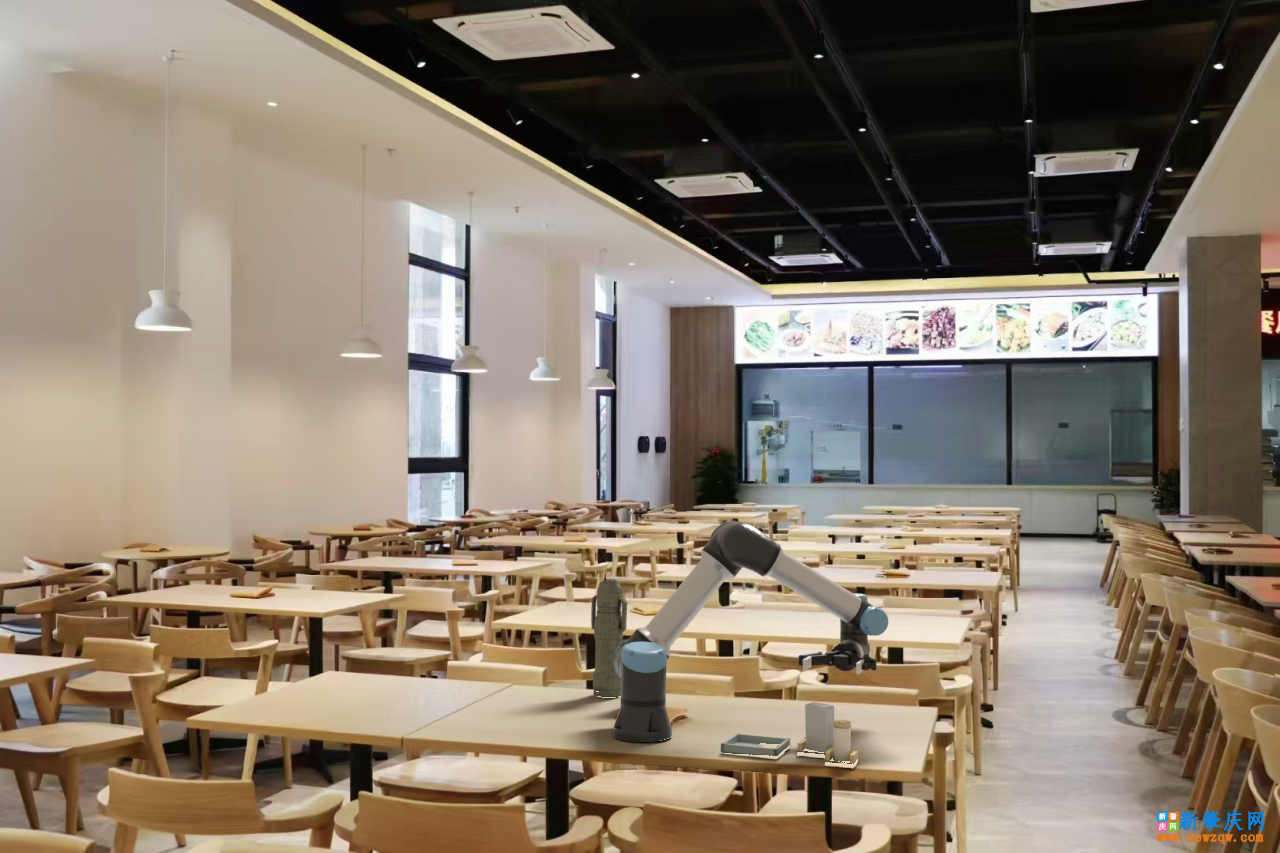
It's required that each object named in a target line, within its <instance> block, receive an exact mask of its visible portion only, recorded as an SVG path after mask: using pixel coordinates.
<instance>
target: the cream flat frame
mask: <svg viewBox="0 0 1280 853" xmlns="http://www.w3.org/2000/svg"><path fill="white" fill-rule="evenodd" d="M805 748H806V736H804V737H803V738H802V739H801V740H799V742H797V750H796V753H797V752H804V753H815V754H824V755H825V759H824V761H823V763H824V762H830V763H831V762H832V763H841V762H838V761H830V760H831V759H832V758H833V745H832V746H831V748H829V749H828V750H827V751H826V752H825V753H818V752H808V751H803V750H804V749H805ZM858 758H859V750H853V751H852V752H850V763H847V764H852V763H853V764H854V763H855V762H856V760H857V759H858ZM842 763H843V762H842ZM844 763H845V762H844Z"/></svg>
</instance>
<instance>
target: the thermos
mask: <svg viewBox="0 0 1280 853" xmlns="http://www.w3.org/2000/svg"><path fill="white" fill-rule="evenodd" d="M622 592H623V591H622V587H621V584H620V582H618V581H617V580H602V581H600V582H599V584H598V586H597V591H596V595H593V597H592V599H591V611H590V612H591V615H590V616H591V617H590V618H591V619H590V622H591V630H593V631H594V632H593V638H594V641H595V652H594V653H595V657H594V671H593V674H592V689H593V694H592V696H593V695H594V696H601V697H618V696H621V680H620V679H619V678H618V677H617V675H616V674H615V671H614V668H613V656H614V653H615V651H616V649H617V648H618V646H619V645H620V644H622V641H623V638H624V632H625V631H626V630H627V619H628V601H627V599H626V597H623V596H622ZM596 691H599V692H596ZM594 696H593V697H594Z"/></svg>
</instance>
